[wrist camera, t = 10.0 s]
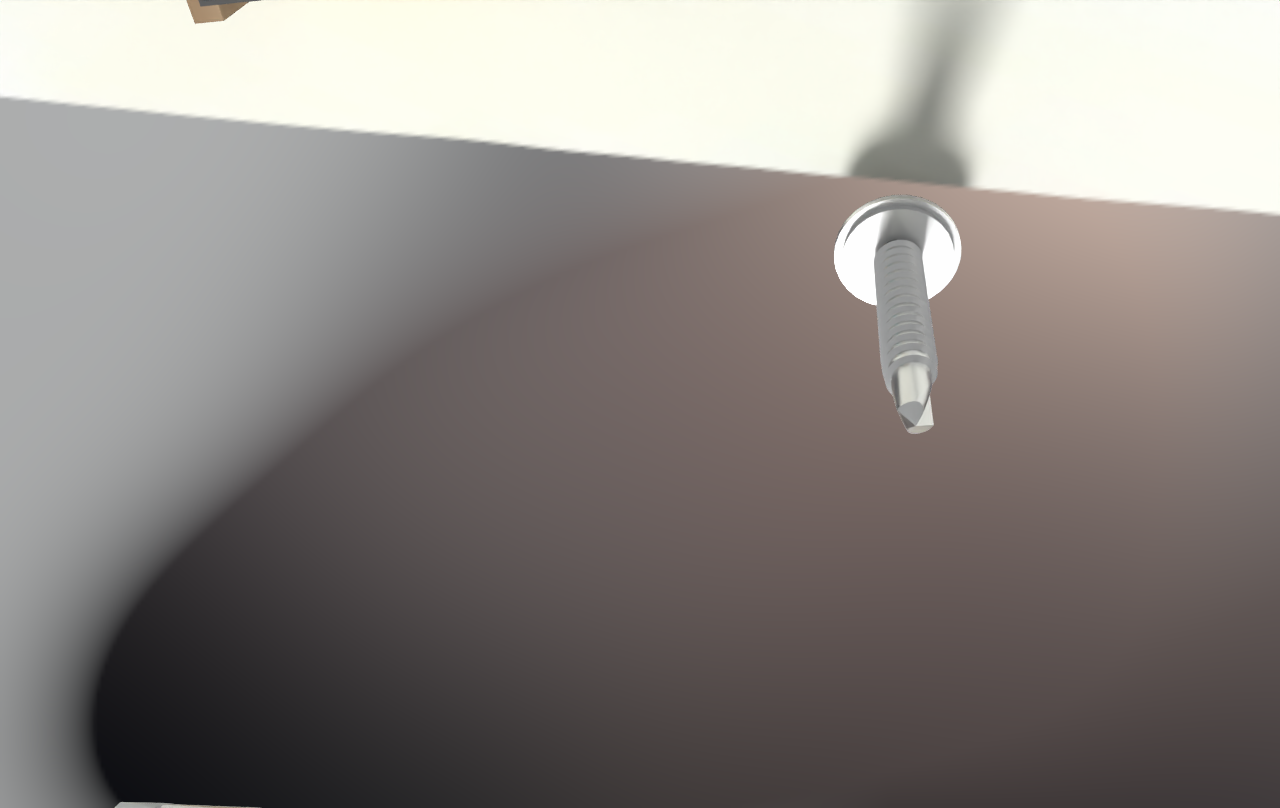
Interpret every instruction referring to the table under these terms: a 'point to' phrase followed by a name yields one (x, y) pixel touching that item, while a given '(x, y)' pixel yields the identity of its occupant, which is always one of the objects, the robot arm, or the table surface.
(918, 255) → the screw
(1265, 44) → the table surface
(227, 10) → the wooden box
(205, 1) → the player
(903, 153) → the table surface
